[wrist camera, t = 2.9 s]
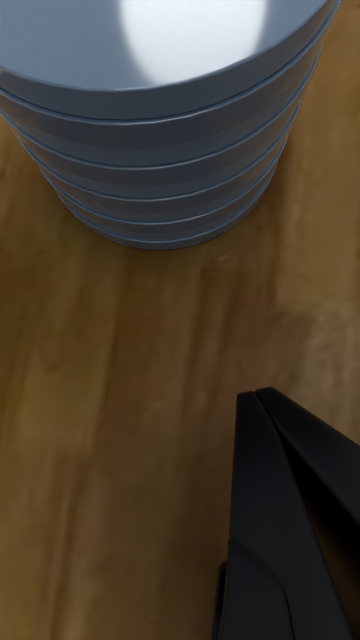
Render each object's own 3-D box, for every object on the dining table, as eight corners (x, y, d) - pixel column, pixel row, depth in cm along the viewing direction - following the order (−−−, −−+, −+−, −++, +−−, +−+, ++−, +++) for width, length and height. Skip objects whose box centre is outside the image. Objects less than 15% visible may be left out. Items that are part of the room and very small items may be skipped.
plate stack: (267, 264, 21) (359, 118, 9) (24, 234, 22) (-164, 70, 11) (288, 57, 24) (377, -247, 13) (74, 39, 25) (-27, -254, 14)
